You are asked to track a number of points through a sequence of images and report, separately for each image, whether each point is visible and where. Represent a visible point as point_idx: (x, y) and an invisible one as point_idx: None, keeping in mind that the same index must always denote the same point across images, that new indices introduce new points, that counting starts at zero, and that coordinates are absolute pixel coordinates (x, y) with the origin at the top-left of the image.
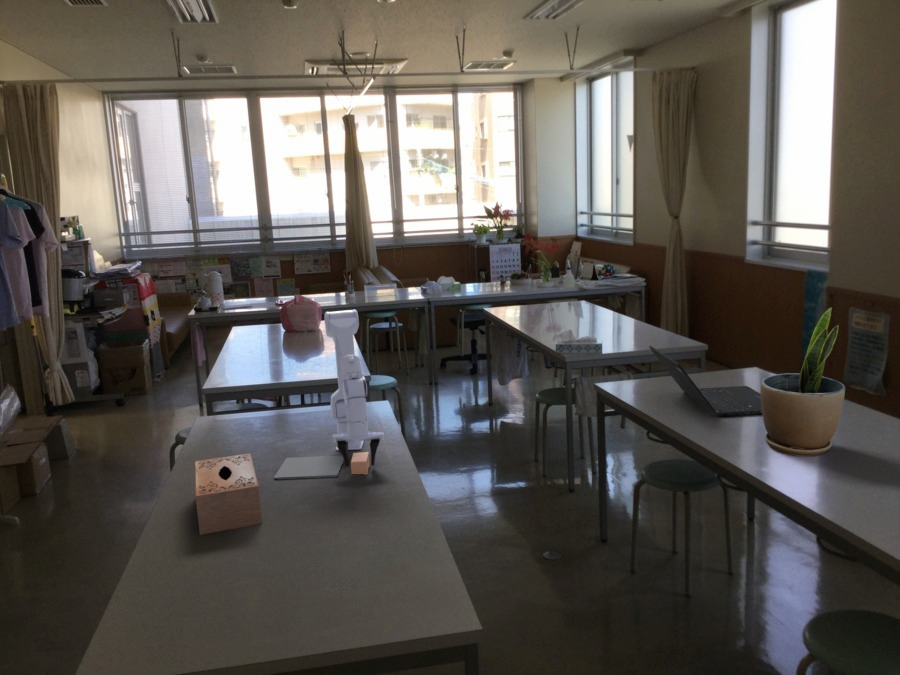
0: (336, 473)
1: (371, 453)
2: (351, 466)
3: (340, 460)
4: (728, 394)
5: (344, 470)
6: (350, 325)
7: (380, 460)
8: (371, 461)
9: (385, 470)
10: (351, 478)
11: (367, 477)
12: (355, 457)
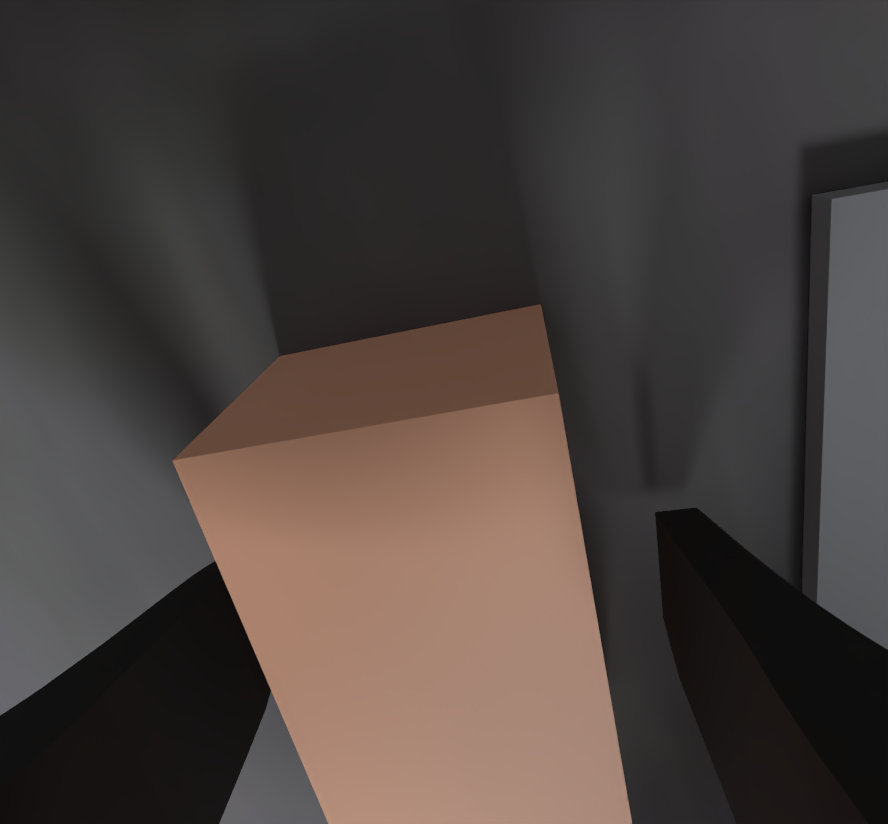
0: (858, 275)
1: (61, 721)
2: (541, 357)
3: None
4: None
5: (724, 500)
6: None
7: (302, 801)
8: (198, 595)
9: (74, 509)
10: (498, 134)
11: (214, 209)
12: (531, 684)
